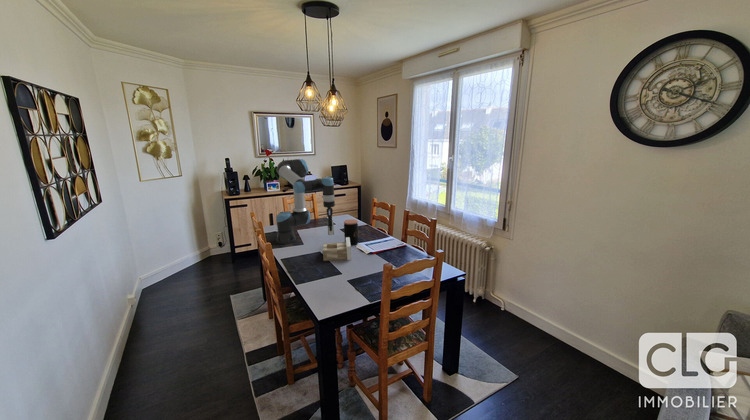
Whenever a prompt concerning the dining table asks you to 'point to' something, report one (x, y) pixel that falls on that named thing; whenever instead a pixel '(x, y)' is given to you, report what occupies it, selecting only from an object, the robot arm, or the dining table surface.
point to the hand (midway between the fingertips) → (331, 233)
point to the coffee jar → (351, 231)
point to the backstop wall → (348, 248)
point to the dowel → (328, 227)
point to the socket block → (334, 251)
